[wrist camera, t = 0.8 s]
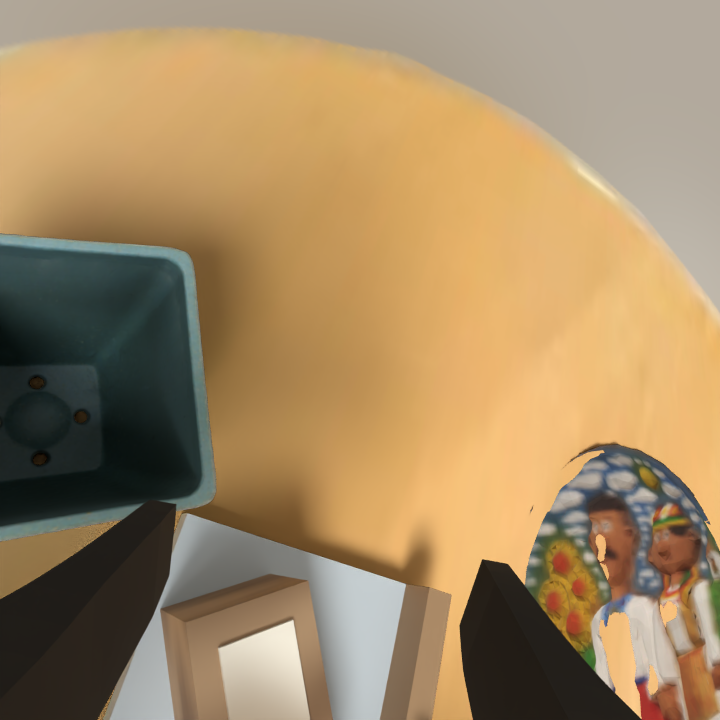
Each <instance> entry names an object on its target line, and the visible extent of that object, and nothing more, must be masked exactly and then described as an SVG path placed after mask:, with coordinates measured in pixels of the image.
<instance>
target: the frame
mask: <svg viewBox="0 0 720 720" xmlns="http://www.w3.org/2000/svg"><path fill="white" fill-rule="evenodd" d="M160 613H161V621H162V628H163V636H164V644H165V651H166V659H167V666H168V674H169V681H170V689H171V697H172V704H173V712H174V719H175V720H333V717H332V711H331V706H330V700H329V695H328V689H327V683H326V678H325V672H324V666H323V661H322V655H321V649H320V644H319V638H318V632H317V627H316V621H315V616H314V610H313V604H312V599H311V593H310V587H309V582H308V580H302V579H297V578H291V577H286V576H280V575H275V574H267V575H264V576H261V577H258V578H255V579H252V580H248V581H245V582H242V583H239V584H236V585H233V586H230V587H227V588H223V589H220V590H217V591H214V592H211V593H208V594H205V595H202V596H199V597H195V598H192V599H189V600H186V601H183V602H180V603H177V604H174V605H170V606H167V607H164V608H161V609H160Z"/></svg>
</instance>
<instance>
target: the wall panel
mask: <svg viewBox="0 0 720 720" xmlns="http://www.w3.org/2000/svg"><path fill="white" fill-rule="evenodd" d="M267 574H275V575H280V576H286V577H291V578H297V579H302V580H308V582H309V587H310V593H311V599H312V604H313V610H314V616H315V621H316V627H317V632H318V638H319V644H320V649H321V655H322V661H323V666H324V672H325V678H326V683H327V689H328V695H329V700H330V706H331V711H332V717H333V720H432V715H433V708H434V702H435V696H436V690H437V683H438V677H439V671H440V664H441V658H442V652H443V646H444V639H445V633H446V627H447V620H448V614H449V608H450V602H451V594H448V593H445V592H442V591H439V590H436V589H433V588H429V587H423V586H416V585H409V584H404V583H401V582H398V581H395V580H392V579H389V578H386V577H383V576H379V575H376V574H373V573H370V572H367V571H364V570H361V569H358V568H355V567H352V566H349V565H346V564H342V563H339V562H336V561H333V560H330V559H327V558H324V557H321V556H318V555H315V554H312V553H309V552H306V551H302V550H299V549H296V548H293V547H290V546H287V545H284V544H281V543H278V542H275V541H272V540H269V539H265V538H262V537H259V536H256V535H253V534H250V533H247V532H244V531H241V530H238V529H235V528H232V527H228V526H225V525H222V524H219V523H216V522H213V521H210V520H207V519H204V518H201V517H198V516H195V515H191V514H188V513H184V514H181V517H180V519H179V522H178V525H177V527H176V530H175V533H174V536H173V546H172V556H171V565H170V575H169V578H168V580H167V583H166V585H165V588H164V590H163V593H162V596H161V598H160V600H159V603H158V605H157V608H156V610H155V613H154V615H153V617H152V619H151V621H150V623H149V625H148V627H147V629H146V631H145V632H144V634H143V636H142V638H141V640H140V642H139V644H138V646H137V647H136V649H135V651H134V653H133V655H132V657H131V658H130V660H129V662H128V664H127V666H126V668H125V669H124V671H123V673H122V675H121V677H120V679H119V680H118V682H117V684H116V687H115V689H114V692H113V695H112V697H111V700H110V703H109V705H108V708H107V710H106V713H105V716H104V718H103V720H175V719H174V712H173V704H172V697H171V689H170V681H169V674H168V666H167V659H166V651H165V644H164V636H163V628H162V621H161V613H160V609H161V608H164V607H167V606H170V605H174V604H177V603H180V602H183V601H186V600H189V599H192V598H195V597H199V596H202V595H205V594H208V593H211V592H214V591H217V590H220V589H223V588H227V587H230V586H233V585H236V584H239V583H242V582H245V581H248V580H252V579H255V578H258V577H261V576H264V575H267Z"/></svg>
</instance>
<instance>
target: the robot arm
mask: <svg viewBox="0 0 720 720" xmlns="http://www.w3.org/2000/svg"><path fill="white" fill-rule="evenodd" d="M176 506H177V504H173V503H167V502H162V501H156V500H151V499H150V500H148V501H147V502H145V503H144V504H143V505H141V506H140V507H139V508H137V509H136V510H135V511H133V512H132V513H131V514H129V515H128V516H127V517H125V518H124V519H123V520H121V521H120V522H119V523H117V524H116V525H115V526H113V527H112V528H111V529H109V530H108V531H107V532H105V533H104V534H103V535H101V536H100V537H98V538H97V539H95V540H94V541H93V542H91V543H90V544H88V545H87V546H86V547H84V548H83V549H81V550H80V551H78V552H77V553H76V554H74V555H73V556H71V557H70V558H68V559H67V560H65V561H63V562H62V563H60V564H59V565H57V566H56V567H54V568H52V569H51V570H49V571H48V572H46V573H45V574H43V575H42V576H40V577H38V578H37V579H35V580H34V581H32V582H30V583H28V584H27V585H25V586H23V587H22V588H20V589H18V590H16V591H15V592H13V593H11V594H9V595H7V596H6V597H4V598H2V599H0V720H97V719H98V717H99V715H100V713H101V712H102V710H103V708H104V706H105V704H106V702H107V701H108V699H109V697H110V695H111V693H112V691H113V690H114V688H115V686H116V684H117V682H118V680H119V679H120V677H121V675H122V673H123V671H124V669H125V668H126V666H127V664H128V662H129V660H130V658H131V657H132V655H133V653H134V651H135V649H136V647H137V646H138V644H139V642H140V640H141V638H142V636H143V634H144V632H145V631H146V629H147V627H148V625H149V623H150V621H151V619H152V617H153V615H154V613H155V610H156V608H157V605H158V603H159V600H160V598H161V596H162V593H163V590H164V588H165V585H166V583H167V580H168V578H169V575H170V565H171V556H172V546H173V536H174V526H175V516H176ZM460 639H461V652H462V663H463V672H464V677H465V682H466V687H467V692H468V697H469V702H470V707H471V712H472V717H473V720H642V719H641V718H640V717H639V716H638V715H637V714H636V713H635V712H634V711H632V710H631V709H630V708H629V707H628V706H627V705H626V704H625V703H624V702H623V701H622V700H621V699H620V698H619V697H618V696H617V695H616V694H615V693H614V692H613V691H612V689H611V688H610V687H609V686H608V685H607V684H606V683H605V682H604V681H603V680H602V679H601V678H600V677H599V676H598V674H597V673H596V672H595V671H594V670H593V669H592V668H591V667H590V665H589V664H588V663H587V662H586V661H585V660H584V659H583V658H582V656H581V655H580V654H579V653H578V652H577V651H576V650H575V648H574V647H573V646H572V645H571V644H570V642H569V641H568V640H567V639H566V638H565V636H564V635H563V634H562V633H561V632H560V630H559V629H558V628H557V627H556V625H555V624H554V623H553V622H552V620H551V619H550V618H549V617H548V615H547V614H546V613H545V611H544V610H543V609H542V608H541V606H540V605H539V604H538V602H537V601H536V600H535V599H534V597H533V596H532V595H531V593H530V592H529V591H528V589H527V588H526V587H525V585H524V584H523V583H522V582H521V580H520V579H519V578H518V576H517V575H516V574H515V573H514V571H513V570H512V569H511V568H510V566H509V565H508V564H505V563H500V562H494V561H489V560H483V559H482V562H481V565H480V567H479V570H478V573H477V576H476V579H475V582H474V585H473V588H472V591H471V594H470V597H469V600H468V603H467V605H466V608H465V611H464V614H463V617H462V620H461V623H460Z"/></svg>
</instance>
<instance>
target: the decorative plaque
mask: <svg viewBox="0 0 720 720" xmlns="http://www.w3.org/2000/svg"><path fill="white" fill-rule="evenodd" d="M598 450H604V452H605V453H600V455H599V456H597V457H595V458H592V459H590V460H589V461H588V462H587V463H586V464H585V465H584V466H583V468H582V470H581V471H580V472H579V474H578V475H577V476H576V477H575V478H574V479H573V480H571V481H570V482H569V483H568V484H566V485H565V486H564V487H562V488H561V489H560V491H559V493H558V495H557V497H556V500H555V502H554V504H553V506H552V508H551V510H550V512H547V514H546V516H545V518H544V520H543V522H542V524H541V527H540V529H539V532H538V535H537V537H536V540H535V543H534V546H533V548H532V551H531V554H530V558H529V562H528V566H527V571H526V582H525V587H526V588H527V589H528V591H529V592H530V593H531V595H532V596H533V597H534V599H535V600H536V601H537V602H538V604H539V605H540V606H541V608H542V609H543V610H544V611H545V613H546V614H547V615H548V617H549V618H550V619H551V620H552V622H553V623H554V624H555V625H556V627H557V628H558V629H559V630H560V632H561V633H562V634H563V635H564V636H565V638H566V639H567V640H568V641H569V642H570V644H571V645H572V646H573V647H574V648H575V650H576V651H577V652H578V653H579V654H580V655H581V656H582V658H583V659H584V660H585V661H586V662H587V663H588V664H589V665H590V667H591V668H592V669H593V670H594V671H595V672H596V673H597V674H598V676H599V677H600V678H601V679H602V680H603V681H604V682H605V683H606V684H607V685H608V686H609V687H610V688H611V689H612V691H613V692H614V693H615V687H614V684H613V682H612V679H611V677H610V674H609V669H608V664H607V658H606V653H605V650H604V648H603V644H602V639H601V637H600V635H599V625H600V620H601V619H602V620H605V621H604V624H605V627H606V626H607V622H608V618H609V614H610V615H611V614H612V613H614V612H619V613H621V612H625V613H626V615H627V616H628V618H629V624H630V632H631V639H632V645H633V651H634V656H635V662H636V674H635V683H636V686H637V689H638V691H639V693H640V704H641V717H642V720H720V551H719V549H718V546H717V544H716V541H715V539H714V537H713V536H712V534H711V532H710V531H709V529H708V527H707V525H706V523H708V524H710V522H706V523H705V522H704V521H707V520H708V519H707V517H706V515H705V513H704V512H703V509H702V507H701V506H700V504H699V503H698V501H697V500H696V498H695V497H694V494H693V493H692V492H691V490H690V489H689V488H688V487H687V486H686V485H685V484H684V483H683V482H682V481H681V479H680V478H678V477H677V476H676V475H675V474H674V473H672V472H671V471H670V470H669V469H668V468H667V467H666V466H665V465H664V464H663V463H661V462H659V461H657V460H655V459H654V458H652V457H650V456H648V455H646V454H645V453H643V452H642V451H639V450H634V449H630V448H626V447H624V446H623V447H622V446H620V445H617V444H616V445H605V446H599V447H596V448H594V449H591V450H589V451H587V452H592V451H598ZM587 452H585V453H587ZM585 453H583V454H585ZM583 454H580V455H579V456H581V455H583ZM579 456H577V457H579ZM577 457H576V458H577ZM573 460H574V459H573ZM573 460H572V461H573ZM532 509H533V508H532ZM531 511H532V510H531ZM598 534H601V535H603V536H604V538H605V540H606V554H605V559H604V561H602V562H599V560H598V559H597V557H598V548H597V546H596V543H595V540H596V536H597V535H598ZM600 563H602V564H604V565H605V564H606V566H607V568H608V572H609V579H608V580H607V578H606V576H605V574H604V571H603V569H602V567H601V565H600ZM667 601H671V602H672V603H673V604H675V605H676V606H677V616H676V618H675V619H673V620H671V621H669V622H667V623H666V628H665V626H664V624H663V621H662V617H661V613H660V604H662V606H663V608H664V606H665V604H666V603H667ZM649 665H651V666H653V667H654V670H655V672H656V675H657V678H658V690H657V691H656V693H655V694H654V695H652V696H650V694H649V691H648V682H649Z"/></svg>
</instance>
